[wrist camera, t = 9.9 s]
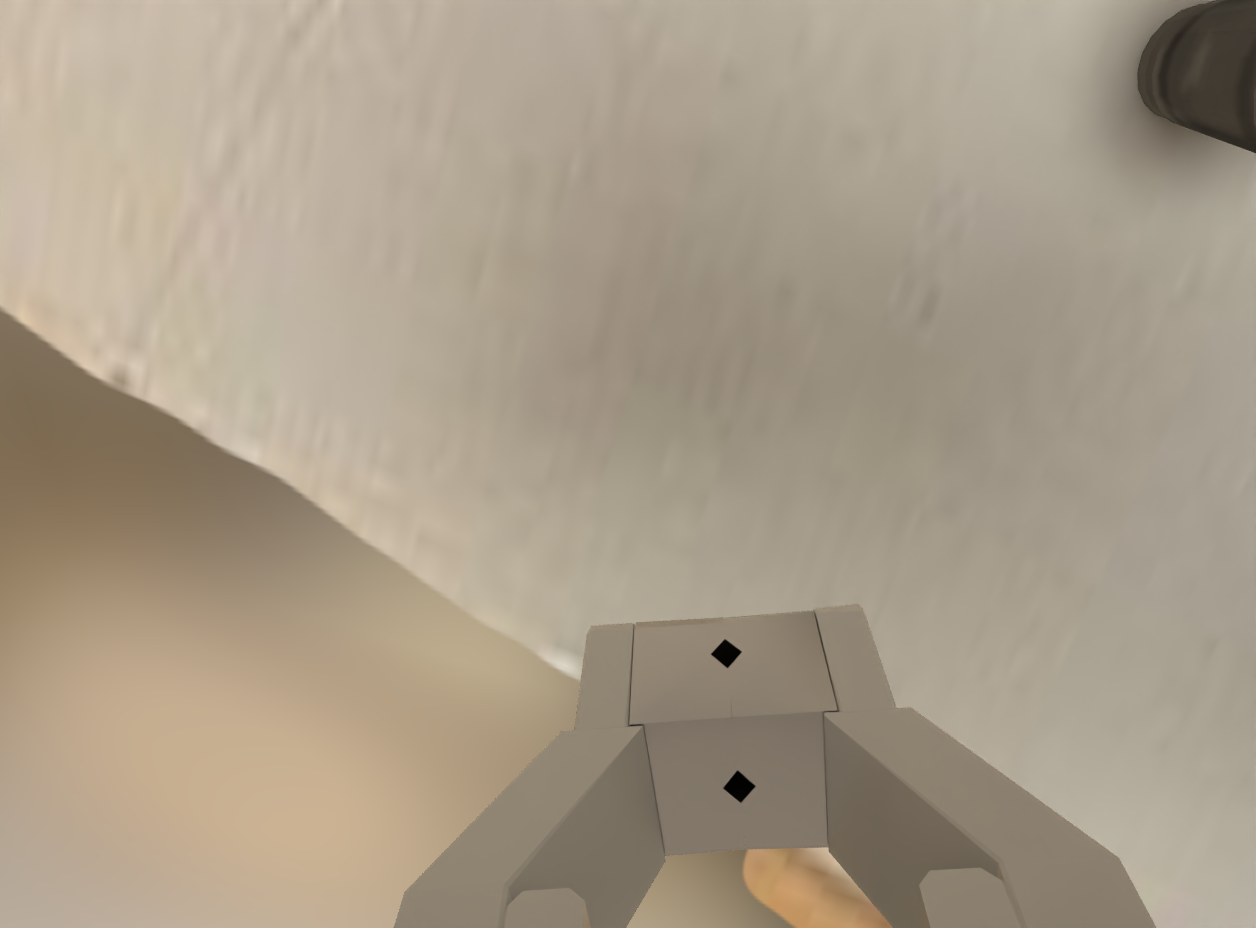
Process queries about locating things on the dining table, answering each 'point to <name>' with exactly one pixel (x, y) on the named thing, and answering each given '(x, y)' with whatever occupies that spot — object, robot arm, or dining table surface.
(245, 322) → the dining table surface
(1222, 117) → the beverage cup
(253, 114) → the dining table surface
